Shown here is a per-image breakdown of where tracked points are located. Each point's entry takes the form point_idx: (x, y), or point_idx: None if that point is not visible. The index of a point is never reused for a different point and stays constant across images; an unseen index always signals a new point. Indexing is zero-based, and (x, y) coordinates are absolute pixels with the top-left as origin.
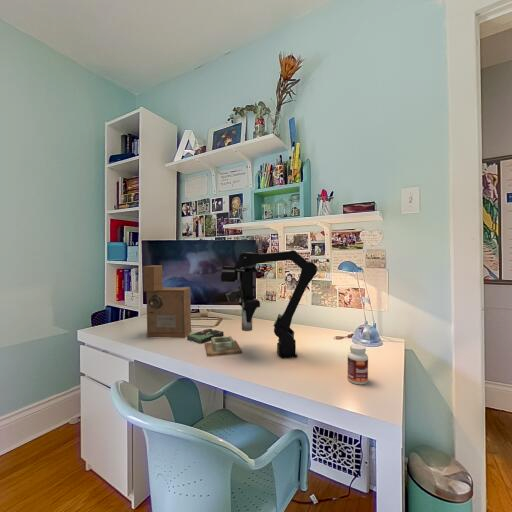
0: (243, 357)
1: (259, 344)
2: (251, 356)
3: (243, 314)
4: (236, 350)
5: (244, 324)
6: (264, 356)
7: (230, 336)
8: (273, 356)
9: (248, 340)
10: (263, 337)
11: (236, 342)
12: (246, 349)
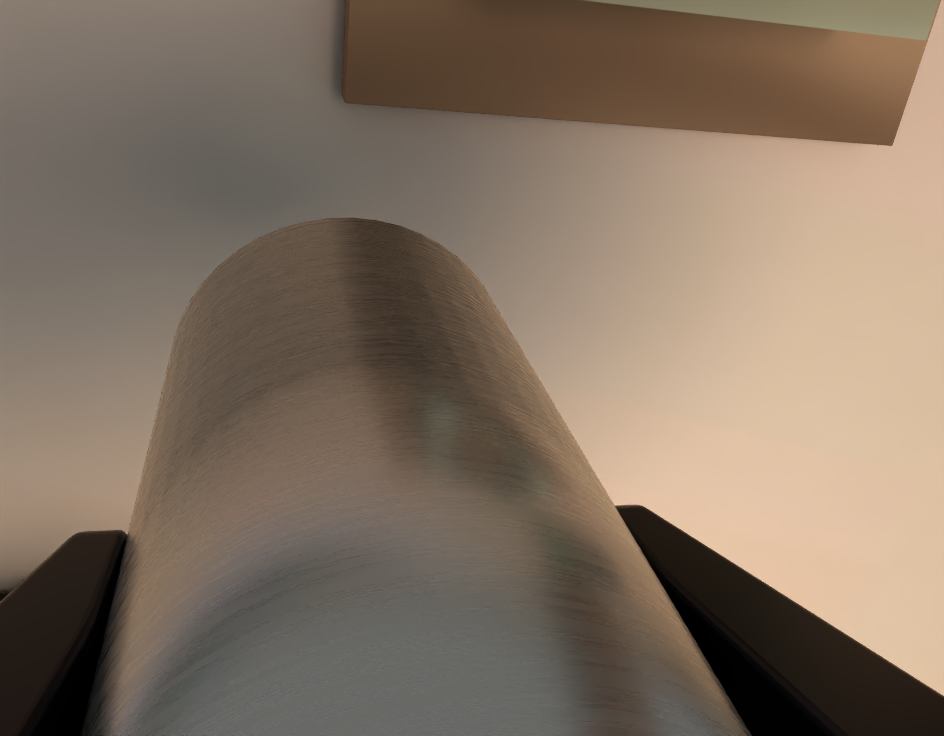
0: (120, 62)
1: (609, 448)
2: (139, 213)
3: (198, 703)
4: (394, 2)
5: (189, 378)
6: (93, 402)
7: (899, 16)
8: (66, 514)
9: (837, 346)
10: (826, 547)
11: (789, 126)
12: (489, 220)
